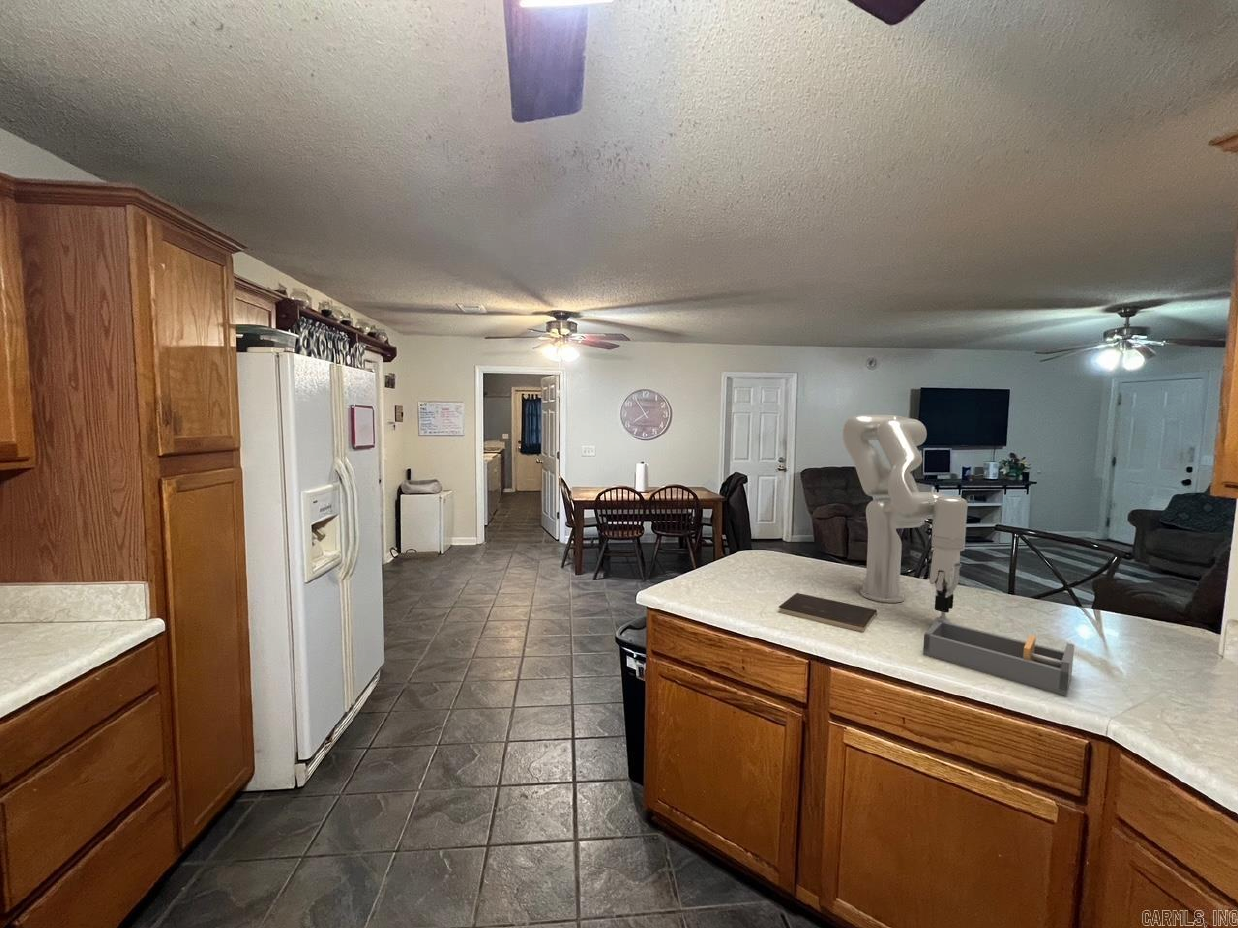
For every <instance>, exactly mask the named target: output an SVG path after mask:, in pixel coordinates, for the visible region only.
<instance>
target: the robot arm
mask: <svg viewBox="0 0 1238 928" xmlns="http://www.w3.org/2000/svg"><path fill="white" fill-rule="evenodd" d="M843 425H844V426H843V428H842V429H843V430H842V439H843V443H844V446H845V448H846V450H847V451H848V452H847V453H849V455H850V457H851V459H852V462H853V464H854V468H855V470H856V473H857V477H858V479H859V482H860V485H861V488H862V490H863V492H864V493H865V495H867V496H868V497H875V499H873V500H871V501H870V502H868V504H867V505H866V507H865V517H866V523H867V524H866V525H867V553H866V554H867V556H866V574H865V578H860V577H853V579H852V583H853V585H854V586H860V587H861V588H860V589H859V594H860V595H861V596H862V597H863V598H866V599H868V600H872V601H875V602H881V603H888V604H889V603H890V604H894V603H901V602H903V601H905V595H904V594H903V593H902V592H901V591H900V585H901V584H900V583H901V563H902V550H903V549H902V547H903V546H902V545H903V544H902V539H901V537H900V535H899V534H898V532H897V529H907V528H908V529H910V528H913V529H914V528H918V527H921V526H922V525H923V524H924V523H925V521H926V520H930V519H931V520H932V528H931V545H930V546H931V547H932V548H933V552H932V558H931V565H930V575H929V584H930V585H935V584H934V583H935V582H936V579H937V586H935V596H934V597H935V598H934V610H935V611H939V612H941V611H942V612H946V613H949V612H950V609H953V607H954V592H955V590H954V591H953V593H952V594H951V596H949V587H951V586H952V584H953V580H954V574H955V567H954V566H959V563H961V562H960V561H961V552H963V551H965V549H966V547H965V545H966V534H967V517H968V501H967V500H966V499H965V498H962V497H959V496H953V495H952V496H951V495H947V494H946V493H943V492H937V491H919V488H918V486H917V482H916V481H915V479H914V476H913V475H912V473H911V472H912V471H914V470H916V469H917V468H918V467H919V466H920V465H921V464H922V463H923V457H922V455H921V453H920V451H919V449H918V446H921V445H923V443H925V441H926V439H927V435H928V433H927V428H926V426H925V425H924V424H923V423H922V421H920V420H918V419H915V418H909V417H905V416H901V415H895V414H857V415H854V416H853V415H852V416H850V417H849V418H848V419H847V420H846V421H845V422H844V424H843ZM870 441H878V443H879V445H880V446H881V449H882V450H883V453H884V454H885V456H886V457H885V458H886V459H887V460H888V463H889V465H890V467H889V466H887V465H886V464H885V462H884V459H883V457H882V454H881V453H880V451H879V450H878V449H877V447H875V446H874V445H873V444H872V443H870ZM876 497H879V498H876ZM944 583H946V584H947V585H946V586H943V584H944ZM943 588H946V592H945V589H943ZM946 613H945V614H946Z"/></svg>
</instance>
